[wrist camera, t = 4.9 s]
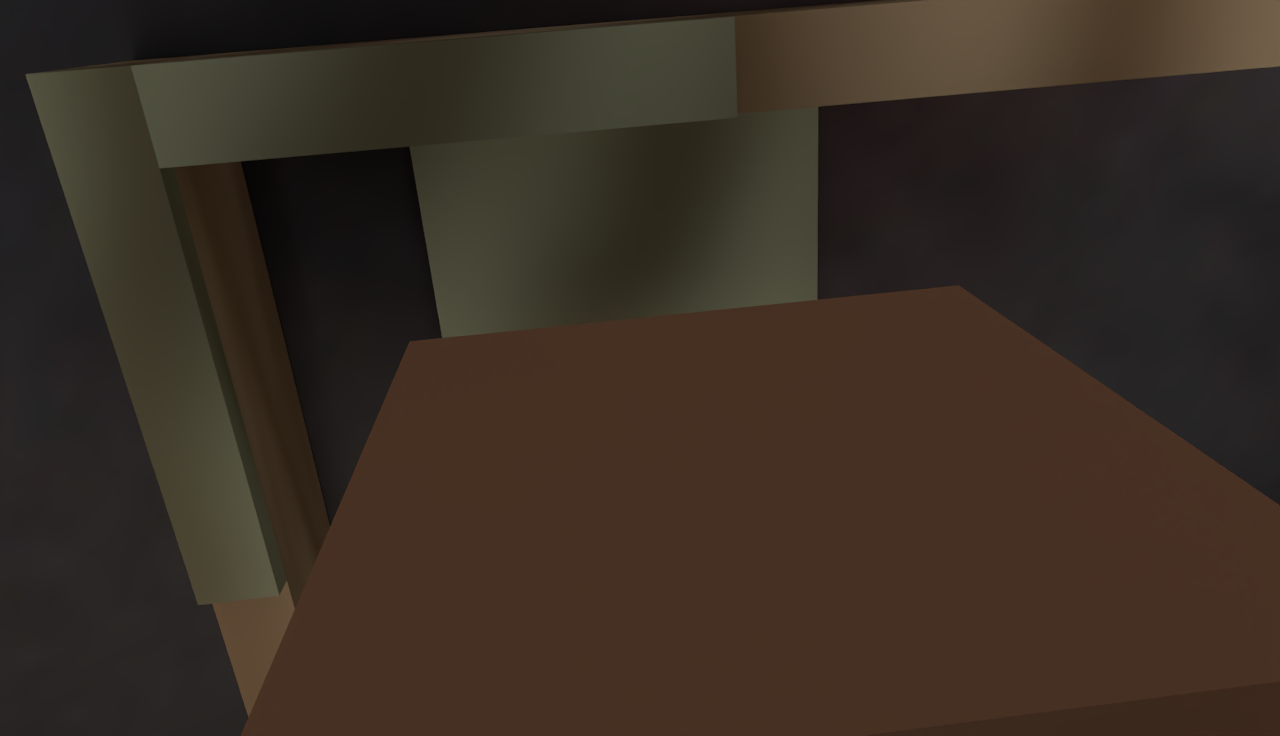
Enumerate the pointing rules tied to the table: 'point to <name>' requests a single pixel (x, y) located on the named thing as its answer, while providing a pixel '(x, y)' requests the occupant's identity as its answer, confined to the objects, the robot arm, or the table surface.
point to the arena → (507, 203)
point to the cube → (780, 541)
